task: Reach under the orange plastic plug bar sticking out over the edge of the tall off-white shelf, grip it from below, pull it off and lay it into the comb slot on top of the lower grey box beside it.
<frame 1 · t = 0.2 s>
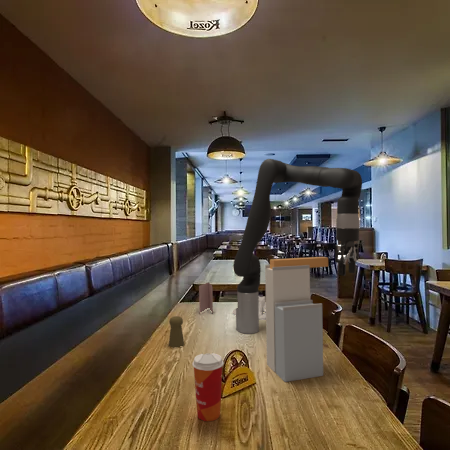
hand: (347, 274, 116), 29 cm above the table, tool pointing down, fingers open, 8 cm apart
plug bar: (299, 267, 112), point 32 cm above the table, touching tall shelf
tall shelf: (288, 365, 111), on the table
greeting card: (209, 312, 179), on the table
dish: (256, 314, 176), on the table
cork: (176, 345, 131), on the table
grey box: (299, 374, 104), on the table
paper cup: (208, 415, 83), on the table
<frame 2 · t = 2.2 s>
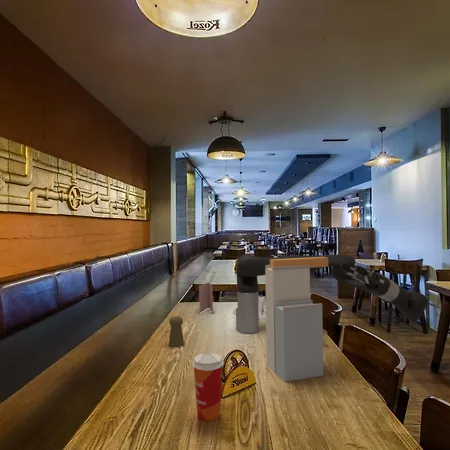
hand: (348, 266, 117), 31 cm above the table, tool pointing upward, fingers open, 8 cm apart
nothing on the table moved.
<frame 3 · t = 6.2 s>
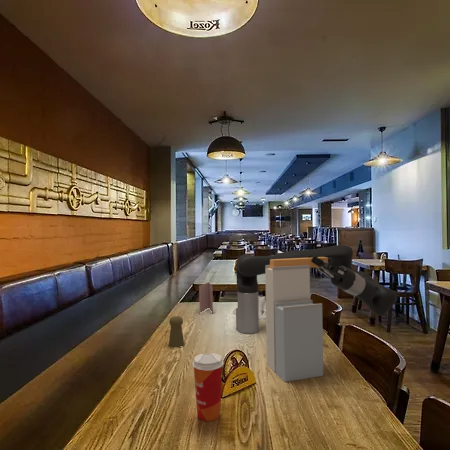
hand: (310, 258, 113), 35 cm above the table, tool pointing upward, fingers closed on plug bar, 3 cm apart
plug bar: (299, 267, 112), point 32 cm above the table, touching gripper, tall shelf
everything else where it was.
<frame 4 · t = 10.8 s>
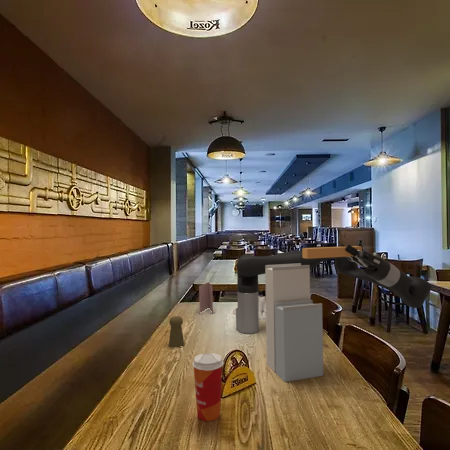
hand: (343, 247, 109), 39 cm above the table, tool pointing upward, fingers closed on plug bar, 3 cm apart
plug bar: (332, 256, 107), point 36 cm above the table, touching gripper
everything else where it was.
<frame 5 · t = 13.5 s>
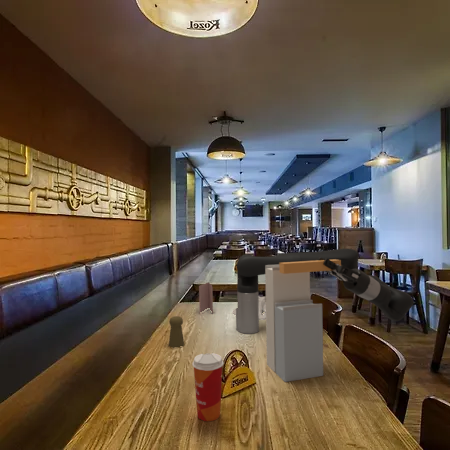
hand: (321, 260, 106), 35 cm above the table, tool pointing upward, fingers closed on plug bar, 3 cm apart
plug bar: (310, 271, 105), point 32 cm above the table, touching gripper
everything else where it was.
when the fingers open (26 cm above the table, at t = 15.7 s): plug bar drops 1 cm, resting on grey box.
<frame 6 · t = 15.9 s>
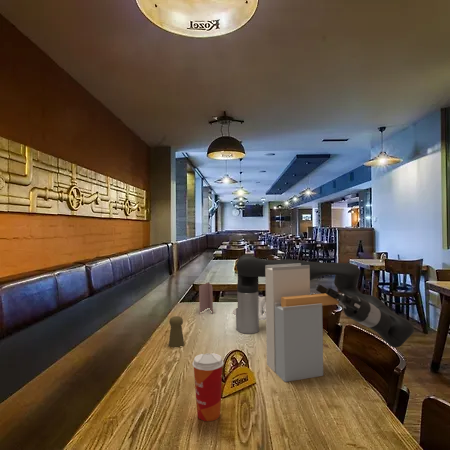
hand: (322, 289, 106), 26 cm above the table, tool pointing upward, fingers open, 4 cm apart
plug bar: (312, 305, 105), point 21 cm above the table, touching grey box
everything else where it was.
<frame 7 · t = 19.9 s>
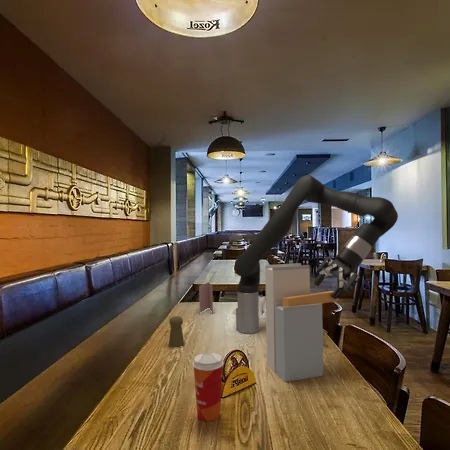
hand: (324, 291, 111), 24 cm above the table, tool tilted 40°, fingers open, 8 cm apart
plug bar: (311, 304, 106), point 21 cm above the table, tilted 6°, touching gripper, grey box
everything else where it was.
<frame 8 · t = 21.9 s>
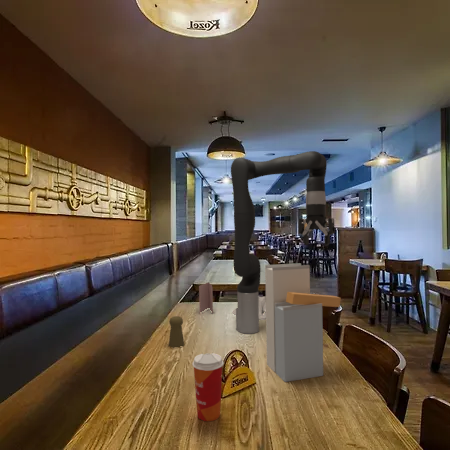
hand: (316, 245, 131), 38 cm above the table, tool pointing down, fingers open, 8 cm apart
plug bar: (313, 304, 105), point 21 cm above the table, tilted 10°, touching grey box
everything else where it was.
at the end: plug bar 0.8 cm from the target spot on the grey box, point 21.2 cm above the grey box's base; plug bar tilted 10°; the gripper is holding nothing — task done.
